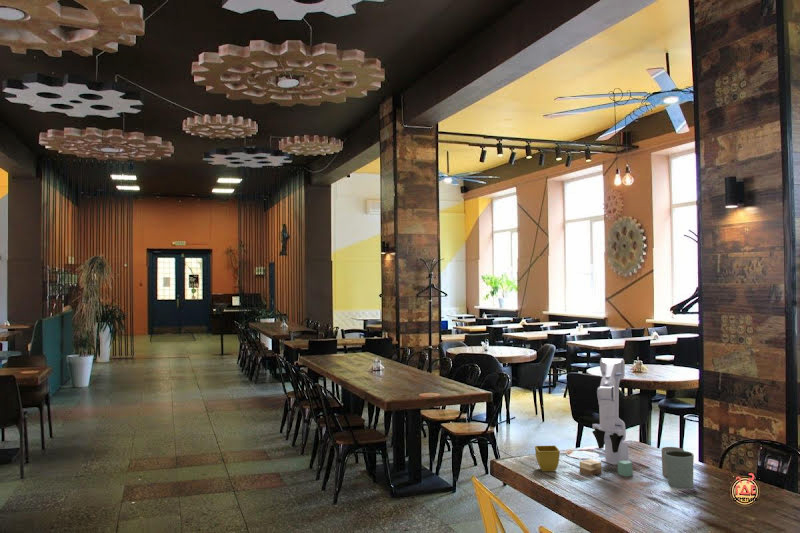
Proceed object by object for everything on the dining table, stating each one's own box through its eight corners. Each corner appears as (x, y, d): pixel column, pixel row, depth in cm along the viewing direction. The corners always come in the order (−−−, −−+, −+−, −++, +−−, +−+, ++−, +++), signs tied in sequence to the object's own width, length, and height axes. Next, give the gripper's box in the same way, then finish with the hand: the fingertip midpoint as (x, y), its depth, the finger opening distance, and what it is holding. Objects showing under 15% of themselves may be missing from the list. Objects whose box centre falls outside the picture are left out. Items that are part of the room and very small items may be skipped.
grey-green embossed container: (697, 490, 243) (696, 457, 243) (668, 489, 245) (667, 456, 245) (691, 481, 253) (690, 450, 253) (663, 480, 255) (662, 449, 255)
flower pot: (560, 472, 269) (560, 450, 269) (539, 473, 269) (538, 451, 269) (556, 466, 278) (555, 445, 278) (535, 467, 278) (534, 445, 278)
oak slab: (590, 464, 273) (590, 459, 273) (601, 468, 268) (601, 462, 268) (579, 467, 270) (579, 461, 270) (590, 470, 265) (590, 464, 265)
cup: (681, 471, 266) (680, 446, 266) (688, 477, 258) (687, 452, 258) (659, 471, 267) (658, 446, 267) (665, 477, 258) (664, 452, 259)
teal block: (624, 472, 267) (624, 460, 267) (632, 474, 264) (632, 462, 264) (617, 474, 265) (617, 461, 265) (625, 476, 262) (625, 463, 262)
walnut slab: (590, 470, 273) (590, 464, 273) (601, 473, 268) (601, 468, 268) (579, 472, 270) (579, 467, 270) (590, 476, 265) (590, 470, 265)
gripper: (586, 414, 271) (587, 447, 270) (613, 420, 258) (614, 455, 257) (599, 412, 274) (600, 445, 274) (626, 418, 261) (627, 452, 261)
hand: (608, 450), depth 266 cm, fingers open, 7 cm apart
